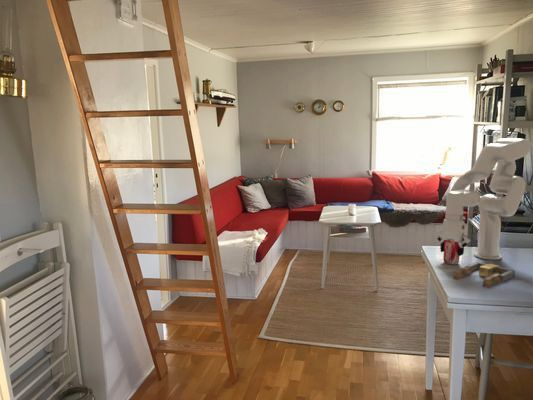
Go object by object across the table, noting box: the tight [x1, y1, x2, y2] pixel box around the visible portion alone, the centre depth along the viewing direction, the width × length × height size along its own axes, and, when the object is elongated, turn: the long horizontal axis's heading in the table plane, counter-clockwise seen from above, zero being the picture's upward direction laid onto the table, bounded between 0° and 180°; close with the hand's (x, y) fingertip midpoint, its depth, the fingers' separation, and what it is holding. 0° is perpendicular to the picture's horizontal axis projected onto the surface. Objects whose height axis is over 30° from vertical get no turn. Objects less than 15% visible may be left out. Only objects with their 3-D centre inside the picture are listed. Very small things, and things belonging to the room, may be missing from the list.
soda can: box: [442, 239, 460, 266], centre depth 211 cm, size 7×7×12 cm
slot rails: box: [453, 265, 501, 288], centre depth 189 cm, size 12×14×3 cm
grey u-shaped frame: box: [464, 261, 516, 282], centre depth 196 cm, size 12×17×2 cm
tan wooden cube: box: [478, 265, 494, 278], centre depth 194 cm, size 4×4×4 cm
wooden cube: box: [486, 263, 500, 275], centre depth 196 cm, size 4×4×4 cm
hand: (451, 253), depth 212 cm, fingers open, 8 cm apart
